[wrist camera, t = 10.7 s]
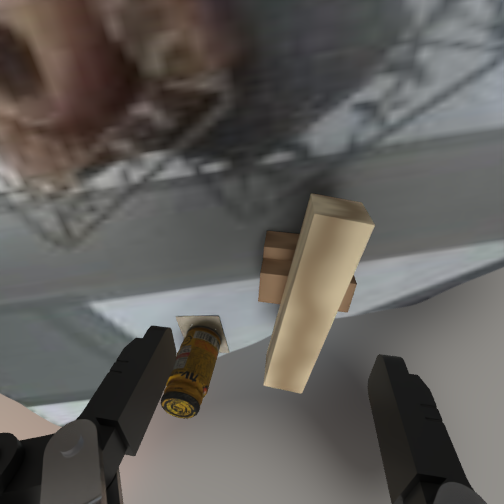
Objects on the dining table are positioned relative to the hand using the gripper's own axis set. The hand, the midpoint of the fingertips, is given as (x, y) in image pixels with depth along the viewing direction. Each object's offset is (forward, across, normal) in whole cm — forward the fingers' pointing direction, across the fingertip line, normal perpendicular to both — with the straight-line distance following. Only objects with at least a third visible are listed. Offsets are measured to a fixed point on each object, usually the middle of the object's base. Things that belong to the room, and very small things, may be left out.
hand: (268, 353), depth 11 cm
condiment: (+23, +12, +27) cm, 38 cm away
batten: (+16, -3, +11) cm, 20 cm away
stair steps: (+24, -3, +11) cm, 26 cm away
